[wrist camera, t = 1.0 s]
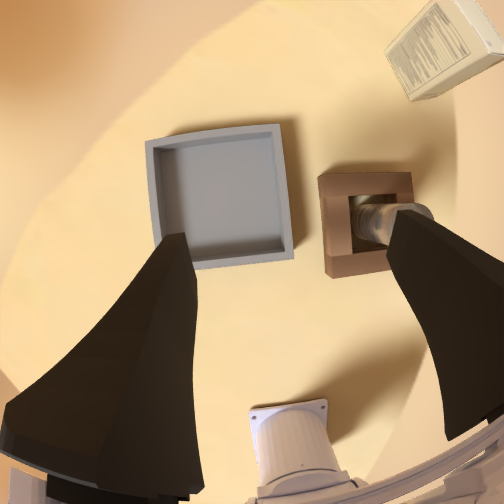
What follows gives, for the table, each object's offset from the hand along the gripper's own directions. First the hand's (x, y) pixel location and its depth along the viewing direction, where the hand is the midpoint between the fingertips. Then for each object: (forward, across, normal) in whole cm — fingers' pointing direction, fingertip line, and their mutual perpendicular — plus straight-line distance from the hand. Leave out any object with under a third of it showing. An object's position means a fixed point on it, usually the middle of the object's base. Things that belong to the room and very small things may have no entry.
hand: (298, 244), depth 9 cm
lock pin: (+11, -9, +7) cm, 16 cm away
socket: (+11, -9, +7) cm, 16 cm away
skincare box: (+19, -17, -6) cm, 26 cm away
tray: (+13, +3, +5) cm, 14 cm away
